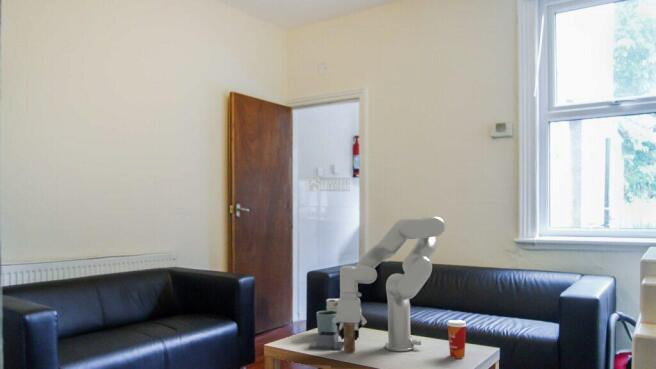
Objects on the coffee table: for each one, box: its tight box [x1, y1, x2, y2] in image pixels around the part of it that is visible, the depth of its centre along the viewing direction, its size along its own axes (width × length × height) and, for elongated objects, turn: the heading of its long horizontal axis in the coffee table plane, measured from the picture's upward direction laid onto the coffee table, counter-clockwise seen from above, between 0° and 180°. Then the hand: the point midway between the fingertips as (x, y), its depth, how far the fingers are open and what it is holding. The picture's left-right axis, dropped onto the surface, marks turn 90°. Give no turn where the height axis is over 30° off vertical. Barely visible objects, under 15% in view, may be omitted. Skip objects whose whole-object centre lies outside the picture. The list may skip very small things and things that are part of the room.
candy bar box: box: [325, 298, 344, 336], centre depth 241 cm, size 11×5×16 cm, turn 80°
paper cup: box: [446, 319, 467, 359], centre depth 202 cm, size 8×8×14 cm
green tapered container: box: [316, 310, 337, 334], centre depth 231 cm, size 10×10×12 cm
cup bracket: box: [308, 331, 344, 351], centre depth 218 cm, size 14×10×6 cm
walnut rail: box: [343, 322, 356, 354], centre depth 210 cm, size 4×4×14 cm
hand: (349, 338), depth 210 cm, fingers open, 5 cm apart
